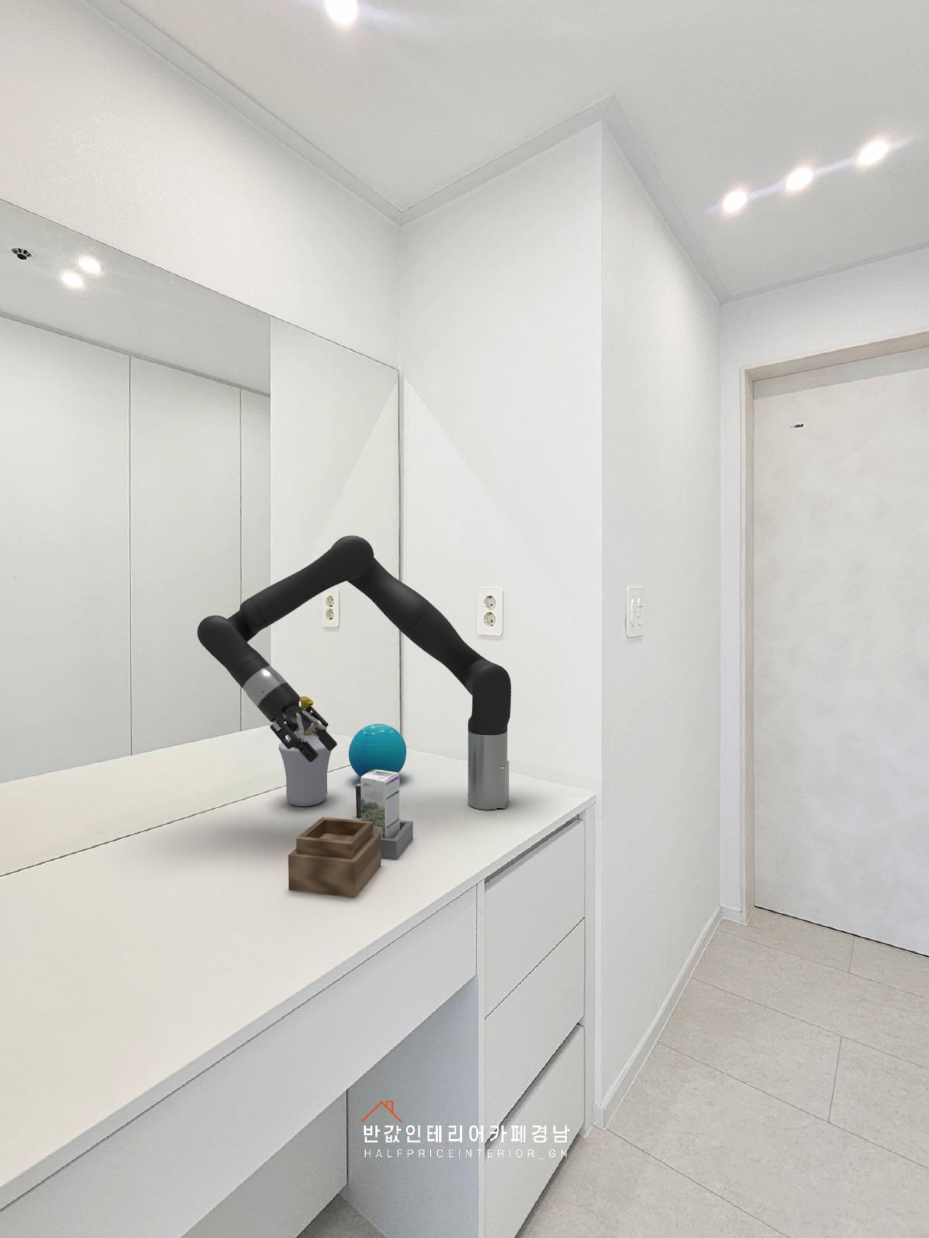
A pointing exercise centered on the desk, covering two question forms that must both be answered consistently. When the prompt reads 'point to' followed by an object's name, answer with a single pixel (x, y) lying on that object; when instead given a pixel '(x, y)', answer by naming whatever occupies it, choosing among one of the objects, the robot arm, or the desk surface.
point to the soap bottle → (306, 770)
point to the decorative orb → (377, 749)
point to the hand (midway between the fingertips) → (324, 753)
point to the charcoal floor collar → (397, 841)
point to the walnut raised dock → (335, 857)
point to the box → (358, 800)
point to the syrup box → (381, 801)
